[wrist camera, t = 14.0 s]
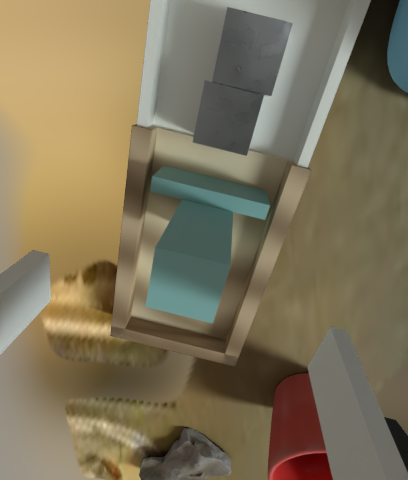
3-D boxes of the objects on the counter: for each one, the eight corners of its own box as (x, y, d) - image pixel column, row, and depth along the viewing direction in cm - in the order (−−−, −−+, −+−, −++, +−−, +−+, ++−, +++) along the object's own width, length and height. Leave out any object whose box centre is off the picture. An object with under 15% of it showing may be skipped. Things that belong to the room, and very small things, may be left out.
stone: (191, 419, 42) (186, 450, 39) (238, 451, 45) (239, 483, 41) (132, 456, 48) (123, 486, 44) (177, 483, 50) (172, 513, 47)
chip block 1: (229, 22, 21) (227, 6, 17) (283, 35, 21) (292, 22, 17) (216, 84, 23) (212, 81, 19) (266, 96, 23) (271, 96, 19)
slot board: (143, 122, 25) (131, 125, 22) (303, 162, 25) (311, 170, 22) (120, 317, 35) (110, 335, 32) (235, 345, 35) (234, 366, 32)
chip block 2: (210, 82, 23) (204, 80, 19) (260, 95, 23) (264, 95, 19) (199, 135, 25) (192, 142, 21) (245, 147, 25) (246, 156, 21)
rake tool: (164, 165, 25) (109, 214, 15) (265, 190, 25) (285, 258, 15) (155, 219, 28) (103, 296, 17) (248, 242, 28) (254, 334, 17)
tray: (170, -75, 19) (161, -98, 17) (369, -26, 19) (386, -41, 17) (145, 123, 25) (136, 125, 23) (301, 161, 25) (307, 167, 23)
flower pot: (314, 431, 40) (334, 524, 31) (245, 398, 39) (247, 485, 30) (371, 389, 36) (413, 483, 27) (296, 349, 34) (315, 435, 25)
